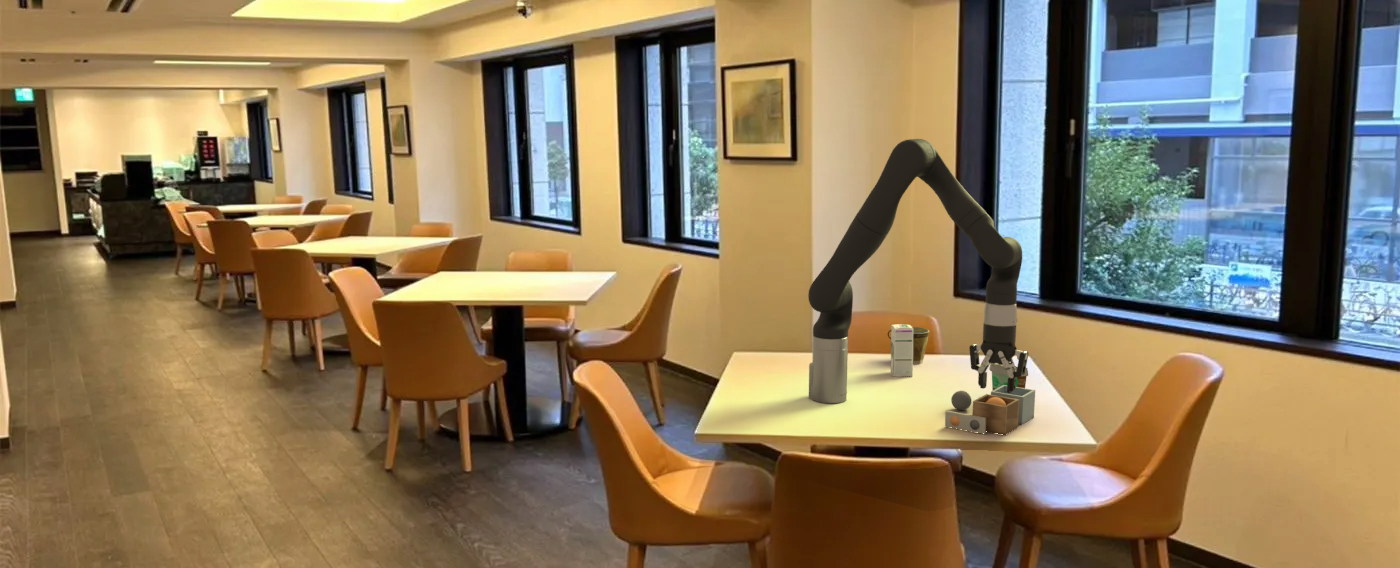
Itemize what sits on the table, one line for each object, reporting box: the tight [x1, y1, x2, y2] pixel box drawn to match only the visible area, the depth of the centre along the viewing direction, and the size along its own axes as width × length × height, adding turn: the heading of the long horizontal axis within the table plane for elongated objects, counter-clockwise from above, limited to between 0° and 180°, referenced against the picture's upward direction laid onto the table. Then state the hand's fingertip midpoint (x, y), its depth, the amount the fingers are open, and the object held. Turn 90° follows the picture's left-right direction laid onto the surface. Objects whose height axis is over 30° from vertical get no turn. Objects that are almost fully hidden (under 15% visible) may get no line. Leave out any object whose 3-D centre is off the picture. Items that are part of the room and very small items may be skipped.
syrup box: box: [890, 323, 914, 378], centre depth 296 cm, size 6×6×14 cm
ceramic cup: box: [887, 326, 930, 365], centre depth 312 cm, size 13×10×10 cm
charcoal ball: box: [951, 390, 972, 411], centre depth 260 cm, size 5×5×5 cm
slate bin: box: [990, 385, 1036, 426], centre depth 253 cm, size 8×8×7 cm
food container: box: [988, 363, 1029, 391], centre depth 269 cm, size 12×6×10 cm, turn 21°
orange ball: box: [986, 397, 1006, 406], centre depth 244 cm, size 5×5×5 cm
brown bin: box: [971, 393, 1019, 436], centre depth 244 cm, size 8×8×7 cm
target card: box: [944, 410, 987, 435], centre depth 243 cm, size 10×1×4 cm, turn 52°
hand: (996, 389), depth 243 cm, fingers open, 6 cm apart
